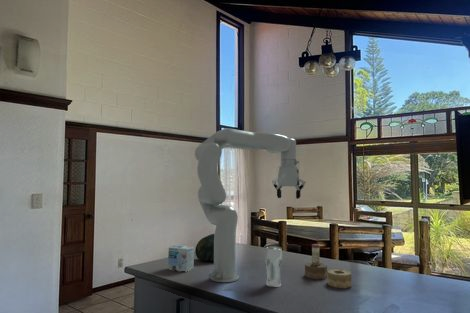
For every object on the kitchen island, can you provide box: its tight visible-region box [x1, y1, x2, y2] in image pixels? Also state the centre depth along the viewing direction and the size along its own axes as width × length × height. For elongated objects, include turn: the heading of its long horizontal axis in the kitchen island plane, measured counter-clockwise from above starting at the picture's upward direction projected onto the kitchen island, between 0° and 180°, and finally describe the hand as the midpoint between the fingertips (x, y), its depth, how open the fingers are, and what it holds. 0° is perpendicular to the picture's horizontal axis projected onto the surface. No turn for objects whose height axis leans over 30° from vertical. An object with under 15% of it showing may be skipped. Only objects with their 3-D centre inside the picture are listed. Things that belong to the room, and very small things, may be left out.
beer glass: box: [264, 246, 283, 288], centre depth 140 cm, size 7×7×15 cm
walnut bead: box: [304, 262, 328, 280], centre depth 153 cm, size 9×9×5 cm
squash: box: [194, 233, 214, 262], centre depth 183 cm, size 14×15×15 cm
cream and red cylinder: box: [311, 243, 320, 266], centre depth 154 cm, size 3×3×14 cm
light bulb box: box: [167, 244, 195, 273], centre depth 164 cm, size 11×7×11 cm, turn 68°
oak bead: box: [327, 268, 352, 289], centre depth 141 cm, size 9×9×5 cm
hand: (288, 198), depth 167 cm, fingers open, 9 cm apart
